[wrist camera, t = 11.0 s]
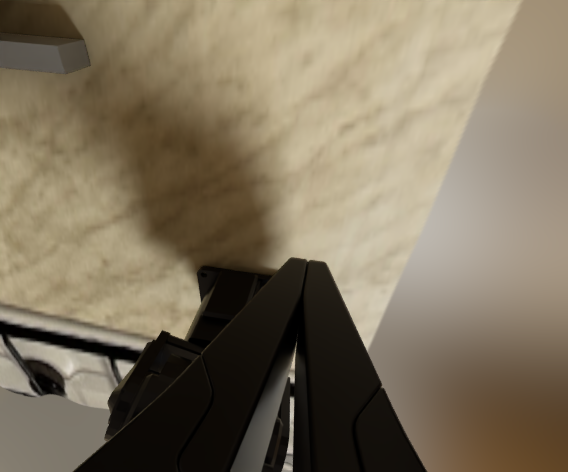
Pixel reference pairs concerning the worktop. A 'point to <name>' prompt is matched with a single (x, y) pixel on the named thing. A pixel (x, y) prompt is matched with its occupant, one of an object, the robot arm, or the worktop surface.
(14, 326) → the worktop surface
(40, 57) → the frame
